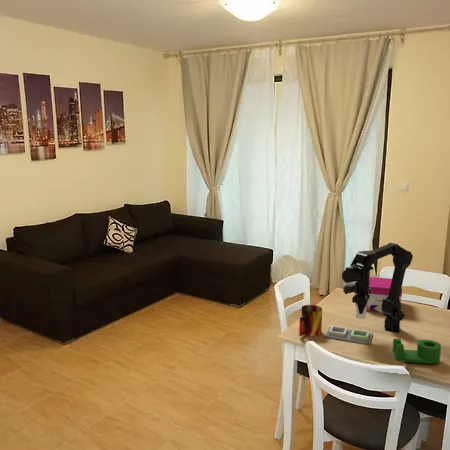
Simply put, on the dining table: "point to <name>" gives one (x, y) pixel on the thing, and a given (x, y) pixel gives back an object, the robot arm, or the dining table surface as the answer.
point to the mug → (310, 320)
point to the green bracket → (418, 352)
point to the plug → (360, 316)
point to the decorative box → (379, 293)
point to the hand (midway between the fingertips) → (361, 312)
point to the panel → (349, 335)
